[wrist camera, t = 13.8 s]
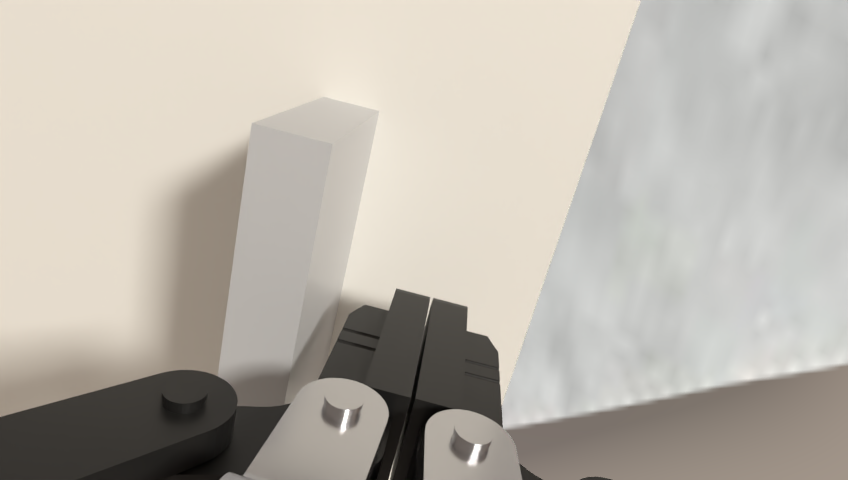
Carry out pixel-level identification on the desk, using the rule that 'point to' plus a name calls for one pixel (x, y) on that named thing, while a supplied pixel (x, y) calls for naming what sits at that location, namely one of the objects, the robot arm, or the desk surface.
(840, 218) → the desk surface
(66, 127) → the lid
